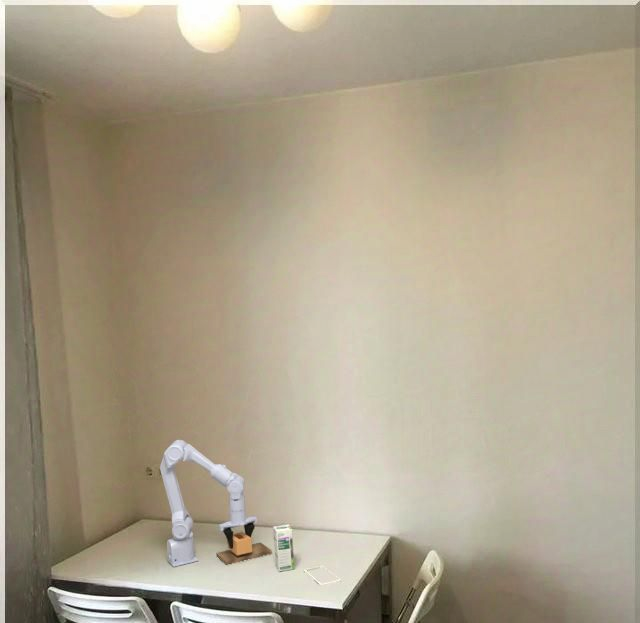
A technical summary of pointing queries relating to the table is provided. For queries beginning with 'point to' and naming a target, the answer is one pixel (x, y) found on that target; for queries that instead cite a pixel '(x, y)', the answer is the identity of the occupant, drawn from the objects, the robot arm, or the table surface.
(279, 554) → the syrup box
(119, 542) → the table surface
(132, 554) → the table surface
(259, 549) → the brown piece
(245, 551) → the collar
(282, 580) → the table surface
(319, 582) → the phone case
